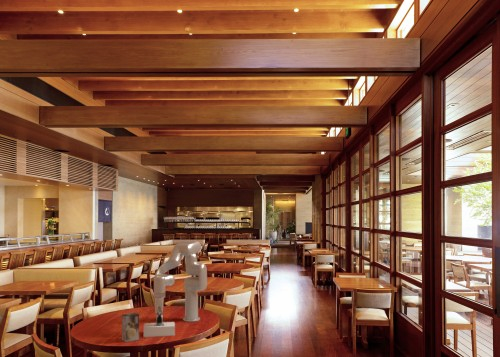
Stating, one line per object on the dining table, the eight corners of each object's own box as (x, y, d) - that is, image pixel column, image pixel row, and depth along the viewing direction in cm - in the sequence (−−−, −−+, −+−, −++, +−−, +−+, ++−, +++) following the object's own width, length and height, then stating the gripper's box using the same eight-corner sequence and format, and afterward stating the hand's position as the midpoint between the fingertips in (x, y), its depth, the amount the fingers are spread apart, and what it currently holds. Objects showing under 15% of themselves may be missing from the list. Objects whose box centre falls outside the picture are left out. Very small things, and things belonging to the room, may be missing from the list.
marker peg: (156, 333, 318) (156, 315, 319) (162, 333, 319) (162, 314, 320) (156, 334, 314) (156, 316, 315) (162, 334, 315) (162, 316, 316)
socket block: (143, 332, 320) (144, 323, 321) (174, 330, 324) (174, 321, 325) (143, 337, 309) (143, 327, 309) (174, 335, 313) (174, 326, 313)
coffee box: (135, 337, 308) (135, 312, 309) (139, 339, 302) (139, 314, 303) (121, 340, 302) (121, 314, 303) (125, 342, 297) (125, 316, 298)
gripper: (153, 293, 326) (153, 318, 325) (153, 297, 309) (153, 324, 308) (165, 292, 327) (164, 318, 326) (165, 297, 310) (165, 324, 309)
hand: (159, 321), depth 317 cm, fingers open, 9 cm apart
